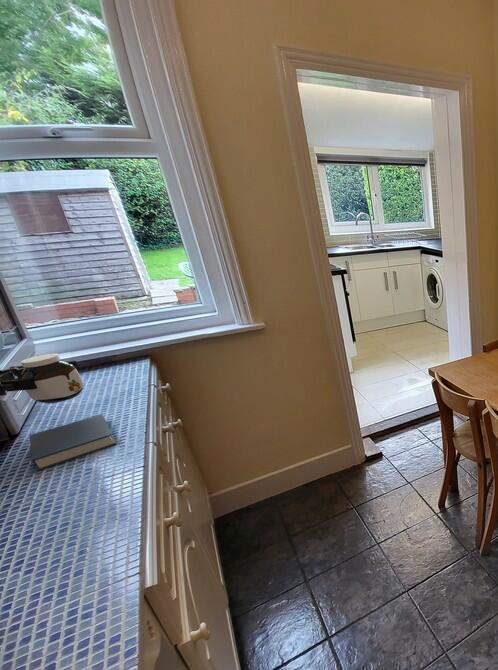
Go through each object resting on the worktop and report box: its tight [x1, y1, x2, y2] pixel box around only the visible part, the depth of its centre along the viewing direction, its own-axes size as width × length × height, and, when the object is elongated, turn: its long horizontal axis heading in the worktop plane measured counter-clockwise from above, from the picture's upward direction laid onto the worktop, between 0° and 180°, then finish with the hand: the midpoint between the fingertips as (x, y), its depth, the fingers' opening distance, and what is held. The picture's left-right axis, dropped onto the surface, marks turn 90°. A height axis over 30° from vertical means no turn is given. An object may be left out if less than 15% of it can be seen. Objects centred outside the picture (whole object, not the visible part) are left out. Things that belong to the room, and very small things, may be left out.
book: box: [29, 413, 117, 471], centre depth 105 cm, size 18×14×3 cm
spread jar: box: [20, 353, 85, 405], centre depth 110 cm, size 12×11×12 cm
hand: (56, 374), depth 110 cm, fingers closed on spread jar, 12 cm apart
